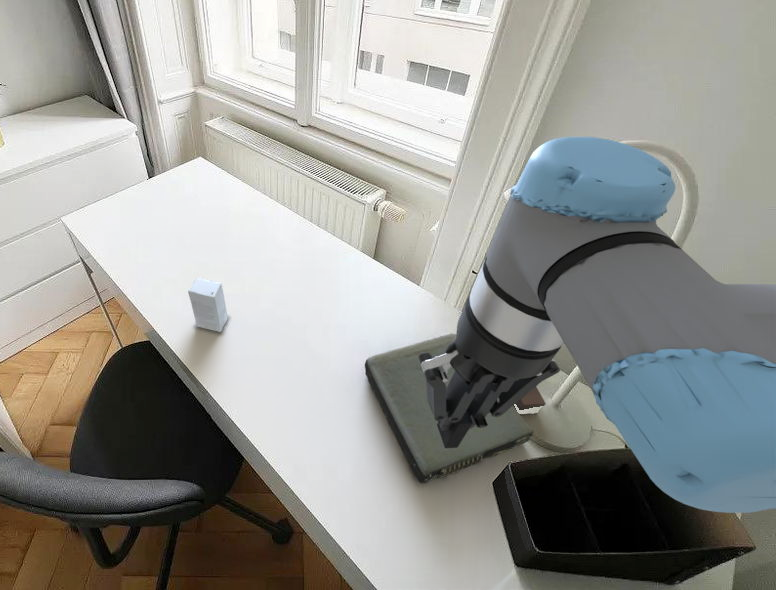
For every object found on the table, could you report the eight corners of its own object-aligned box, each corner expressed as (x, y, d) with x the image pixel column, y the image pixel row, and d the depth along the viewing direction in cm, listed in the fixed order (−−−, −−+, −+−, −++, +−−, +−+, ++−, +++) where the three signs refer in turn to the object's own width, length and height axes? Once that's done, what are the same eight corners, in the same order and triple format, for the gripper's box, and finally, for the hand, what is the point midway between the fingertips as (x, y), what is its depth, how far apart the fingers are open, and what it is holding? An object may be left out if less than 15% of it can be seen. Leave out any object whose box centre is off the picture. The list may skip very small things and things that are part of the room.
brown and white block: (537, 414, 74) (546, 403, 72) (515, 415, 74) (523, 405, 72) (520, 382, 79) (528, 372, 76) (500, 384, 79) (507, 373, 76)
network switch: (429, 504, 64) (436, 493, 61) (349, 376, 81) (351, 362, 77) (536, 438, 71) (547, 426, 68) (442, 333, 88) (448, 319, 84)
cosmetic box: (228, 317, 92) (222, 282, 85) (221, 333, 89) (214, 298, 81) (204, 311, 94) (196, 276, 86) (195, 326, 90) (187, 291, 83)
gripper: (564, 277, 37) (486, 401, 52) (423, 285, 37) (385, 408, 52) (623, 350, 31) (515, 467, 46) (456, 360, 31) (402, 474, 46)
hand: (446, 435), depth 49 cm, fingers closed
